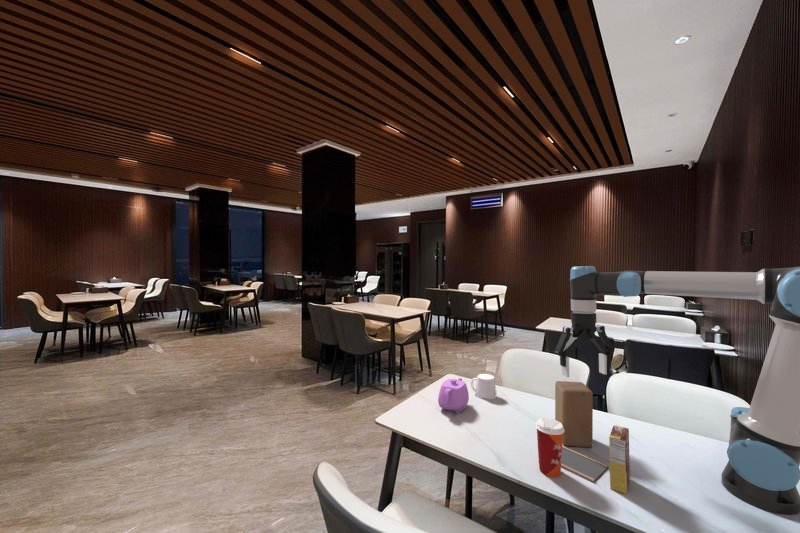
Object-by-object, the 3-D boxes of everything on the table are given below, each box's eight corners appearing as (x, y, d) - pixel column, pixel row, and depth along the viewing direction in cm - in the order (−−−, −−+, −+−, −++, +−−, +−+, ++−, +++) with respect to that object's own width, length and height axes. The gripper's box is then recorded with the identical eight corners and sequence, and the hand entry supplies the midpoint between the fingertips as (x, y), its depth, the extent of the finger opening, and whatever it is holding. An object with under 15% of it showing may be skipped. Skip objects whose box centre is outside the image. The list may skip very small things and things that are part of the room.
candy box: (613, 473, 102) (613, 424, 102) (630, 478, 100) (630, 428, 99) (608, 488, 96) (608, 436, 95) (626, 495, 93) (626, 441, 92)
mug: (497, 375, 162) (493, 380, 155) (497, 394, 162) (493, 400, 155) (473, 371, 168) (468, 376, 161) (473, 390, 168) (468, 395, 161)
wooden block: (593, 448, 115) (593, 391, 115) (563, 446, 117) (563, 390, 117) (582, 433, 125) (582, 381, 125) (554, 431, 127) (554, 379, 126)
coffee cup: (562, 483, 98) (562, 432, 98) (533, 473, 102) (533, 425, 102) (565, 467, 105) (566, 420, 105) (538, 459, 109) (538, 414, 109)
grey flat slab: (608, 467, 105) (608, 465, 105) (593, 482, 98) (593, 480, 98) (557, 445, 117) (557, 443, 117) (541, 457, 111) (541, 455, 111)
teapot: (459, 420, 137) (459, 389, 136) (432, 413, 143) (431, 384, 143) (474, 401, 154) (474, 374, 154) (448, 396, 160) (448, 370, 160)
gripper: (608, 309, 117) (609, 368, 118) (542, 311, 114) (543, 373, 114) (625, 311, 110) (626, 375, 110) (555, 315, 107) (556, 380, 107)
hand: (584, 374), depth 112 cm, fingers open, 13 cm apart
